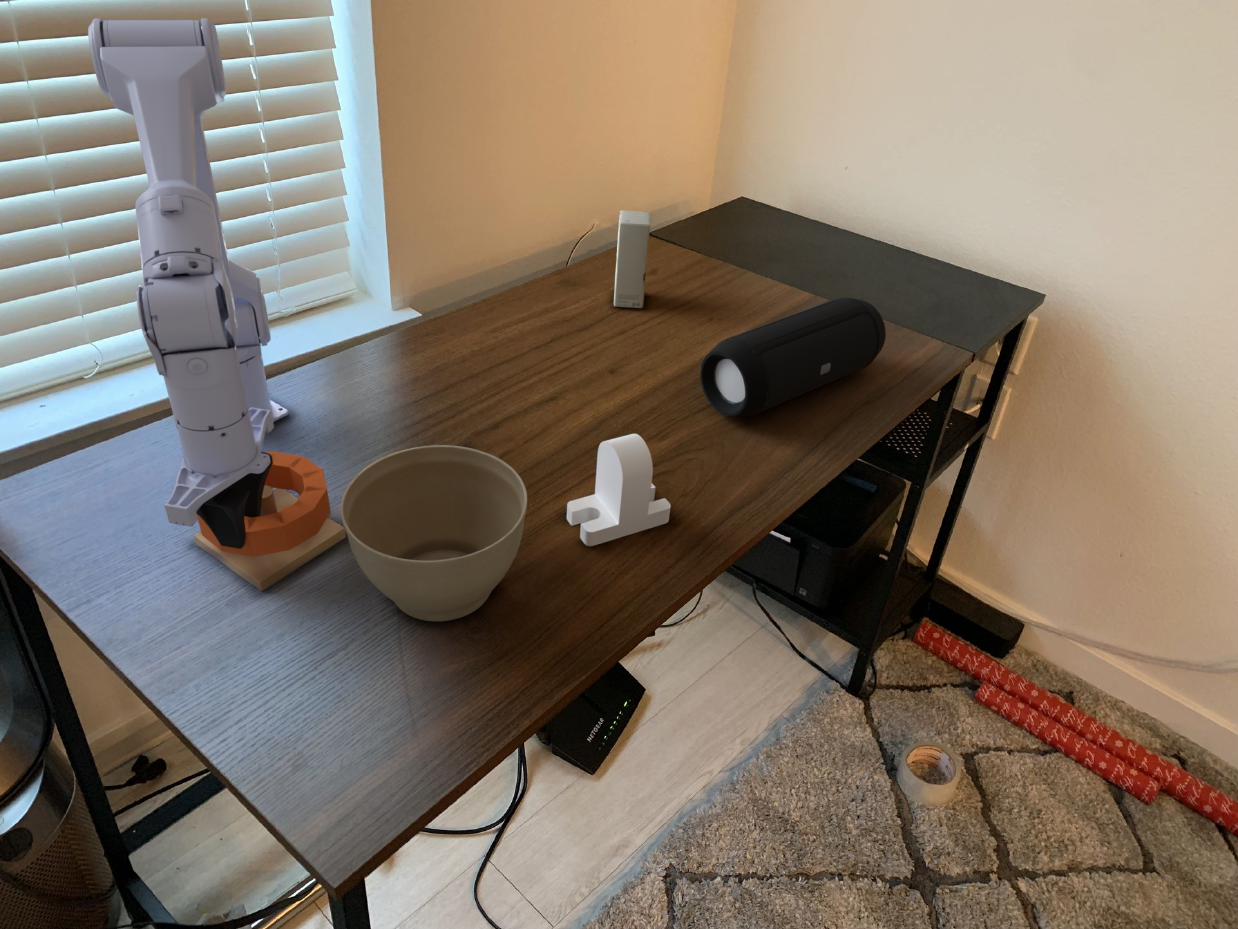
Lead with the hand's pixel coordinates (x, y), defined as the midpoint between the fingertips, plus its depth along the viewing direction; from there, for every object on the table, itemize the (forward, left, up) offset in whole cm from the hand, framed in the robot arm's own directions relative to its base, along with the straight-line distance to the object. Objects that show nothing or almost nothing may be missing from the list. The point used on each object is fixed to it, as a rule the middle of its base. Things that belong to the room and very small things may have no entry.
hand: (239, 535), depth 86 cm
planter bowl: (+15, +10, -5) cm, 19 cm away
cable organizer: (+22, +29, -5) cm, 37 cm away
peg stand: (-2, +4, -5) cm, 7 cm away
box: (-6, +70, -5) cm, 71 cm away
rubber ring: (-2, +4, -1) cm, 5 cm away
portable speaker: (+23, +65, -5) cm, 69 cm away
